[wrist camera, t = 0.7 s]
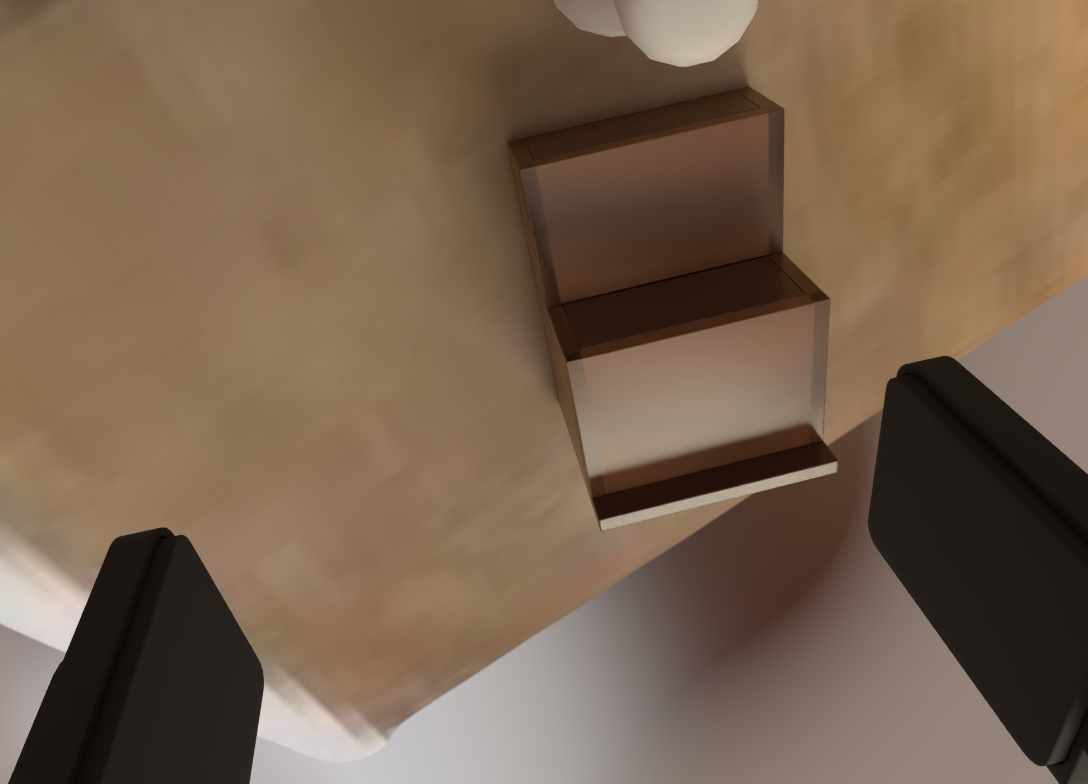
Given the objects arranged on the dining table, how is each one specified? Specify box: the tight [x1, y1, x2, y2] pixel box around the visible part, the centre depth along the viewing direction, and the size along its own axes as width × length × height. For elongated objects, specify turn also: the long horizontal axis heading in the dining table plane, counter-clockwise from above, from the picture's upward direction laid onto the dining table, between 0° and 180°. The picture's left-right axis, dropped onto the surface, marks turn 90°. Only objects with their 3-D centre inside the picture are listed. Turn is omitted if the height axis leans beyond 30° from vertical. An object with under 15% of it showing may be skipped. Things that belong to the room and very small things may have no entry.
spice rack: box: [508, 87, 838, 531], centre depth 37 cm, size 16×12×11 cm
